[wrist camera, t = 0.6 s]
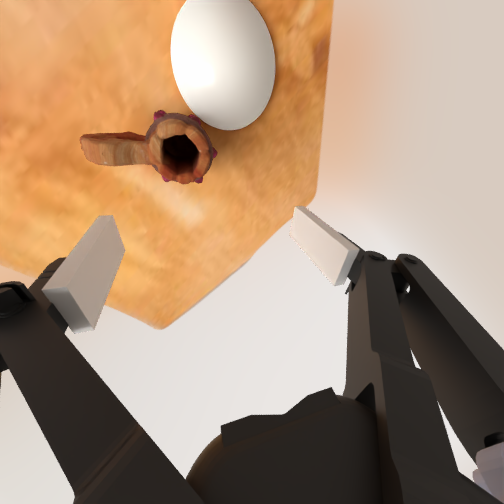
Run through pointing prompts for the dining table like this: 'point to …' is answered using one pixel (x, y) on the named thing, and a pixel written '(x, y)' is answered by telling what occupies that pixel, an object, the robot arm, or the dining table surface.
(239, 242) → the dining table surface
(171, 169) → the mug
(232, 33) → the plate
